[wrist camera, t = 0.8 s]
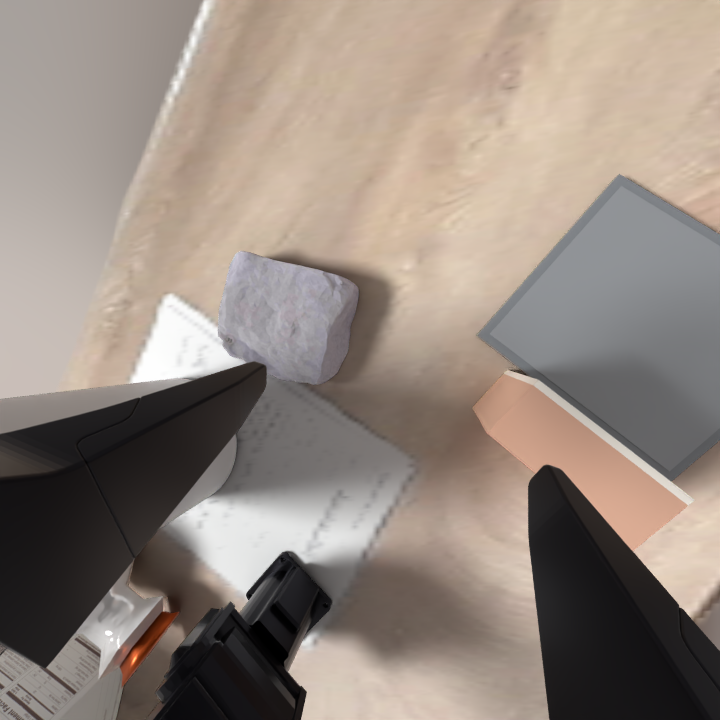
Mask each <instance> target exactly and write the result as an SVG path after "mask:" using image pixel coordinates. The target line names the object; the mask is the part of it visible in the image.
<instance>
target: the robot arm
mask: <svg viewBox="0 0 720 720" xmlns="http://www.w3.org/2000/svg"><path fill="white" fill-rule="evenodd" d="M266 379H267V367H266V365H265V364H262V363H260V362H257V361H252V362H249V363H246V364H243V365H240V366H236V367H233V368H230V369H227V370H224V371H221V372H217V373H214V374H211V375H208V376H205V377H201V378H198V379H195V380H192V381H189V382H186V383H182V384H179V385H176V386H173V387H170V388H167V389H163V390H160V391H157V392H154V393H151V394H147V395H144V396H142V397H141V398H139V397H138V398H135V399H131V400H128V401H125V402H122V403H118V404H115V405H112V406H108V407H105V408H101V409H98V410H94V411H90V412H86V413H83V414H79V415H75V416H71V417H67V418H63V419H59V420H55V421H51V422H47V423H43V424H39V425H35V426H31V427H27V428H23V429H19V430H15V431H11V432H6V433H1V434H0V656H1V655H2V654H3V653H4V652H5V650H6V649H8V650H10V651H12V652H14V653H15V654H17V655H19V656H21V657H23V658H25V659H27V660H29V661H30V662H32V663H34V664H36V665H38V666H40V667H42V668H43V669H45V668H47V666H48V665H49V664H50V663H51V662H52V661H53V660H54V658H55V657H56V656H57V655H58V654H59V652H60V651H61V650H62V649H63V647H64V646H65V645H66V644H67V642H68V641H69V640H70V639H71V638H72V636H73V635H74V634H75V633H76V631H77V630H78V629H79V628H80V626H81V625H82V624H83V623H84V621H85V620H86V619H87V618H88V616H89V615H90V614H91V613H92V611H93V610H94V609H95V608H96V607H97V605H98V604H99V603H100V602H101V600H102V599H103V598H104V597H105V595H106V594H107V593H108V592H109V590H110V589H111V588H112V587H113V585H114V584H115V583H116V582H117V580H118V579H119V578H120V577H121V576H122V574H123V573H124V572H125V571H126V569H127V568H128V567H129V566H130V564H131V563H132V562H133V561H134V558H136V557H137V555H138V554H139V553H140V552H141V550H142V549H143V548H144V547H145V545H146V544H147V543H148V542H149V540H150V539H151V538H152V537H153V536H154V534H155V533H156V532H157V531H158V529H159V528H160V527H161V526H162V524H163V523H164V522H165V521H166V519H167V518H168V517H169V516H170V514H171V513H172V512H173V511H174V509H175V508H176V507H177V506H178V505H179V503H180V502H181V501H182V500H183V498H184V497H185V496H186V495H187V493H188V492H189V491H190V490H191V488H192V487H193V486H194V485H195V483H196V482H197V481H198V480H199V478H200V477H201V476H202V475H203V474H204V472H205V471H206V470H207V469H208V467H209V466H210V465H211V464H212V462H213V461H214V460H215V459H216V457H217V456H218V455H219V454H220V452H221V451H222V450H223V449H224V447H225V446H226V445H227V444H228V442H229V441H230V440H231V439H232V438H233V436H234V435H235V434H236V433H237V431H238V430H239V429H240V427H241V426H242V424H243V423H244V421H245V420H246V418H247V417H248V415H249V414H250V412H251V410H252V409H253V407H254V406H255V404H256V403H257V401H258V399H259V398H260V396H261V395H262V393H263V392H264V390H265V387H266ZM528 535H529V547H530V556H531V564H532V573H533V582H534V590H535V599H536V608H537V616H538V625H539V634H540V642H541V651H542V660H543V668H544V677H545V686H546V694H547V703H548V712H549V720H720V651H719V650H718V649H717V648H716V646H715V645H714V644H713V643H712V642H711V641H710V640H709V639H708V637H707V636H706V635H705V634H704V633H703V632H702V631H701V629H700V628H699V627H698V626H697V625H696V624H695V623H694V621H693V620H692V619H691V618H690V617H689V616H688V614H687V613H686V612H685V611H684V610H683V609H682V608H679V604H678V603H677V602H676V601H675V600H674V598H673V597H672V596H671V595H670V594H669V593H668V591H667V590H666V589H665V588H664V587H663V586H662V585H661V583H660V582H659V581H658V580H657V579H656V578H655V576H654V575H653V574H652V573H651V572H650V571H649V570H648V568H647V567H646V566H645V565H644V564H643V563H642V561H641V560H640V559H639V558H638V557H637V556H636V555H635V553H634V552H633V551H632V550H631V549H630V548H629V546H628V545H627V544H626V543H625V542H624V541H623V540H622V538H621V537H620V536H619V535H618V534H617V533H616V531H615V530H614V529H613V528H612V527H611V526H610V525H609V523H608V522H607V521H606V520H605V519H604V518H603V516H602V515H601V514H600V513H599V512H598V511H597V510H596V508H595V507H594V506H593V505H592V504H591V503H590V502H589V500H588V499H587V498H586V497H585V496H584V495H583V493H582V492H581V491H580V490H579V489H578V488H577V487H576V485H575V484H574V483H573V482H572V481H571V480H570V478H569V477H568V476H567V475H566V474H565V473H564V472H563V470H561V469H560V468H557V467H554V466H551V465H548V464H546V465H543V466H542V467H541V468H540V470H539V471H538V472H537V473H536V474H535V475H534V476H533V477H532V479H531V480H530V482H529V486H528ZM282 557H283V558H284V559H285V560H284V559H283V558H282ZM246 596H247V599H248V600H249V601H248V602H247V603H246V605H245V606H244V608H243V609H242V610H241V612H240V613H238V612H237V610H236V609H235V608H234V607H235V606H234V605H233V603H232V602H231V601H230V602H229V604H228V605H227V606H226V607H225V608H224V609H223V608H221V609H213V608H211V610H210V611H209V612H208V613H207V614H206V615H205V616H204V617H203V619H202V620H201V621H200V622H199V623H198V624H197V626H196V627H195V628H194V629H193V630H192V631H191V633H190V634H189V635H188V636H187V637H186V638H185V640H184V641H183V642H182V643H181V645H180V646H179V647H178V648H177V649H176V651H175V652H174V653H173V654H172V657H171V663H170V668H169V670H168V672H167V673H166V675H165V676H164V677H165V679H164V680H163V682H162V683H161V685H160V686H159V687H158V689H157V690H156V692H155V694H156V695H157V696H158V698H159V699H160V702H159V704H158V705H157V706H156V707H155V709H154V710H153V711H152V712H151V714H150V715H149V716H148V717H147V718H146V720H301V717H302V712H303V707H304V703H305V698H306V693H307V692H306V691H305V689H304V688H303V687H302V686H299V685H298V683H297V682H296V681H295V680H294V679H293V677H292V676H291V675H290V674H289V673H288V671H289V669H290V667H291V664H292V662H293V660H294V658H295V656H296V653H297V651H298V649H299V647H300V645H301V643H302V640H303V638H304V636H305V634H306V633H307V632H308V631H309V630H310V629H311V628H312V627H313V626H314V625H315V624H316V623H317V622H318V621H319V620H320V619H321V618H322V617H323V616H324V615H325V614H326V613H327V612H328V611H329V610H330V608H331V605H332V601H331V599H330V598H329V597H328V596H327V595H326V594H325V593H324V592H323V591H322V589H321V588H320V587H319V586H318V585H317V584H316V583H315V582H314V581H313V580H312V579H311V578H310V577H309V576H308V575H307V574H306V573H305V572H304V570H303V569H302V568H301V567H300V566H299V565H298V564H297V563H296V562H295V561H294V560H293V559H292V558H291V557H290V556H289V555H288V554H287V553H286V552H282V553H281V554H280V555H279V556H278V557H277V559H276V560H275V561H274V562H273V563H272V564H271V565H270V567H269V568H268V569H267V570H266V571H265V572H264V573H263V574H262V576H261V577H260V578H259V579H258V580H257V581H256V582H255V584H254V585H253V586H252V587H251V588H250V589H249V591H248V592H247V594H246ZM325 603H327V605H326V604H325Z"/></svg>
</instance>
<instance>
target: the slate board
mask: <svg viewBox="0 0 720 720" xmlns="http://www.w3.org/2000/svg"><path fill="white" fill-rule="evenodd" d="M476 336H477V337H479V338H480V339H481V340H482V341H484V342H485V343H486V344H488V345H489V346H490V347H491V348H493V349H494V350H495V351H497V352H498V353H499V354H501V355H502V356H503V357H504V358H506V359H507V360H508V361H510V362H511V363H512V364H513V365H515V366H516V367H517V368H519V369H520V370H521V371H523V372H524V373H525V374H526V375H528V376H529V377H531V378H535V379H538V380H540V381H541V382H542V383H544V384H545V385H546V386H547V387H549V388H550V389H551V390H553V391H554V392H555V393H557V394H558V395H559V396H560V397H562V398H563V399H564V400H566V401H567V402H568V403H569V404H571V405H572V406H573V407H575V408H576V409H577V410H579V411H580V412H581V413H582V414H584V415H585V416H586V417H588V418H589V419H590V420H592V421H593V422H594V423H595V424H597V425H598V426H599V427H601V428H602V429H603V430H605V431H606V432H607V433H608V434H610V435H611V436H612V437H614V438H615V439H616V440H618V441H619V442H620V443H621V444H623V445H624V446H625V447H627V448H628V449H629V450H631V451H632V452H633V453H634V454H636V455H637V456H638V457H640V458H641V459H642V460H644V461H645V462H646V463H647V464H649V465H650V466H651V467H653V468H654V469H655V470H657V471H658V472H659V473H660V474H662V475H663V476H664V477H666V478H667V479H668V480H669V481H673V480H674V479H675V478H676V477H677V476H678V475H680V474H681V473H682V472H683V471H684V470H685V469H687V468H688V467H689V466H690V465H691V464H692V463H694V462H695V461H696V460H697V459H698V458H700V457H701V456H702V455H703V454H704V453H705V452H707V451H708V450H709V449H710V448H711V447H712V446H714V445H715V444H716V443H717V442H718V441H720V234H718V233H716V232H715V231H713V230H711V229H710V228H708V227H706V226H705V225H703V224H701V223H700V222H698V221H696V220H695V219H693V218H691V217H690V216H688V215H687V214H685V213H683V212H682V211H680V210H678V209H677V208H675V207H673V206H672V205H670V204H668V203H667V202H665V201H663V200H662V199H660V198H658V197H657V196H655V195H653V194H652V193H650V192H648V191H647V190H645V189H643V188H642V187H640V186H639V185H637V184H635V183H634V182H632V181H630V180H629V179H627V178H625V177H624V176H622V175H620V174H619V175H618V176H617V177H616V178H614V179H613V180H612V182H611V183H610V184H609V185H608V186H607V187H606V188H605V190H604V191H603V192H602V193H601V194H600V195H599V196H598V197H597V199H596V200H595V201H594V202H593V203H592V204H591V205H590V207H589V208H588V209H587V210H586V211H585V212H584V213H583V215H582V216H581V217H580V218H579V219H578V220H577V221H576V222H575V224H574V225H573V226H572V227H571V228H570V229H569V230H568V232H567V233H566V234H565V235H564V236H563V237H562V238H561V240H560V241H559V242H558V243H557V244H556V245H555V246H554V247H553V249H552V250H551V251H550V252H549V253H548V254H547V255H546V257H545V258H544V259H543V260H542V261H541V262H540V263H539V265H538V266H537V267H536V268H535V269H534V270H533V271H532V272H531V274H530V275H529V276H528V277H527V278H526V279H525V280H524V282H523V283H522V284H521V285H520V286H519V287H518V288H517V290H516V291H515V292H514V293H513V294H512V295H511V296H510V297H509V299H508V300H507V301H506V302H505V303H504V304H503V305H502V307H501V308H500V309H499V310H498V311H497V312H496V313H495V315H494V316H493V317H492V318H491V319H490V320H489V321H488V323H487V324H486V325H485V326H484V327H483V328H482V329H481V330H480V332H479V333H478V334H477V335H476Z"/></svg>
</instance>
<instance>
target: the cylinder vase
mask: <svg viewBox="0 0 720 720" xmlns="http://www.w3.org/2000/svg"><path fill="white" fill-rule="evenodd" d="M189 381H192V380H189V379H181V378H176V379H167V380H158V381H150V382H141V383H133V384H124V385H116V386H107V387H98V388H90V389H81V390H73V391H64V392H56V393H47V394H39V395H31V396H22V397H13V398H5V399H0V434H1V433H6V432H11V431H15V430H19V429H23V428H27V427H31V426H35V425H39V424H43V423H47V422H51V421H55V420H59V419H63V418H67V417H71V416H75V415H79V414H83V413H86V412H90V411H94V410H98V409H101V408H105V407H108V406H112V405H115V404H118V403H122V402H125V401H128V400H131V399H135V398H138V397H139V398H141V397H142V396H144V395H147V394H151V393H154V392H157V391H160V390H163V389H167V388H170V387H173V386H176V385H179V384H182V383H186V382H189ZM236 451H237V438H236V434H235V435H234V436H233V438H232V439H231V440H230V441H229V442H228V444H227V445H226V446H225V447H224V449H223V450H222V451H221V452H220V454H219V455H218V456H217V457H216V459H215V460H214V461H213V462H212V464H211V465H210V466H209V467H208V469H207V470H206V471H205V472H204V474H203V475H202V476H201V477H200V478H199V480H198V481H197V482H196V483H195V485H194V486H193V487H192V488H191V490H190V491H189V492H188V493H187V495H186V496H185V497H184V498H183V500H182V501H181V502H180V503H179V505H178V506H177V507H176V508H175V509H174V511H173V512H172V513H171V514H170V516H169V517H168V518H167V519H166V521H165V522H164V523H163V524H162V526H161V527H160V528H162V527H163V526H165V525H166V524H168V523H170V522H171V521H173V520H174V519H176V518H177V517H179V516H180V515H182V514H183V513H185V512H186V511H188V510H189V509H191V508H193V507H194V506H196V505H197V504H199V503H200V502H202V501H203V500H205V499H206V498H208V497H209V496H211V495H212V494H214V493H215V492H216V491H217V490H219V489H220V488H221V486H222V485H223V484H224V483H225V481H226V480H227V478H228V477H229V475H230V473H231V471H232V468H233V465H234V462H235V458H236ZM160 528H159V529H160ZM159 529H158V530H159Z"/></svg>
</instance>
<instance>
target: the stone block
mask: <svg viewBox="0 0 720 720" xmlns="http://www.w3.org/2000/svg"><path fill="white" fill-rule="evenodd" d="M358 298H359V289H358V287H357V286H356V285H355V284H354V283H353V282H351V281H349V279H346V278H344V277H341V276H339V275H335V274H331V273H328V272H325V271H321V270H318V269H313V268H309V267H305V266H301V265H296V264H291V263H285V262H281V261H277V260H273V259H269V258H265V257H262V256H259V255H256V254H253V253H250V252H245V251H240V252H238V253H236V254H235V256H234V258H233V260H232V262H231V263H230V266H229V272H228V274H227V281H226V284H225V288H224V292H223V296H222V300H221V305H220V309H219V319H218V336H219V337H220V338H221V339H222V340H223V347H224V349H225V350H226V351H227V352H228V354H229V355H230V356H232V357H235V358H241V359H243V360H245V361H246V362H247V363H249V362H252V361H257V362H260V363H262V364H265V365H266V367H267V374H269V375H272V376H274V377H276V378H278V379H281V380H285V381H296V382H298V383H299V382H305V383H309V384H313V385H316V384H322V383H325V382H326V381H328V380H329V379H331V378H332V377H333V376H334V375H336V374H337V372H338V371H339V369H340V366H341V364H342V362H343V360H344V359H345V357H346V355H347V353H348V350H349V349H348V348H349V338H350V336H351V334H350V327H351V324H352V321H353V319H354V315H355V312H356V308H357V303H358Z"/></svg>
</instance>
